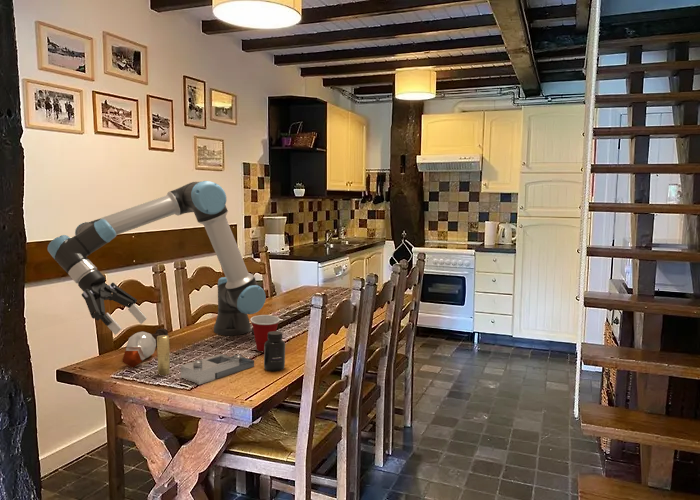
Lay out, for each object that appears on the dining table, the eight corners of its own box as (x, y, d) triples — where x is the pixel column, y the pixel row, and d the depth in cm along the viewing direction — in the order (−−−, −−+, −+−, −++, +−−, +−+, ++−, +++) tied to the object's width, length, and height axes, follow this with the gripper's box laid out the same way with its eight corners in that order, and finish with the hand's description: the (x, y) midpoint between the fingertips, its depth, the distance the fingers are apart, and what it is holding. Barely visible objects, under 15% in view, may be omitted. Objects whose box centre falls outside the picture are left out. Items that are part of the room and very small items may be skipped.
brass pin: (165, 370, 163) (164, 334, 162) (172, 373, 161) (171, 336, 160) (155, 373, 160) (154, 336, 159) (162, 376, 158) (161, 338, 157)
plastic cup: (255, 356, 180) (255, 322, 179) (246, 347, 190) (246, 316, 188) (284, 352, 185) (284, 320, 184) (274, 344, 195) (274, 313, 193)
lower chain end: (236, 360, 174) (236, 350, 174) (254, 366, 169) (254, 356, 169) (198, 372, 162) (198, 361, 162) (216, 379, 157) (216, 368, 156)
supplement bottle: (275, 373, 163) (275, 336, 162) (259, 369, 166) (259, 333, 165) (289, 367, 169) (289, 332, 167) (273, 363, 172) (273, 329, 171)
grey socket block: (221, 365, 169) (220, 349, 169) (239, 371, 164) (239, 354, 163) (180, 378, 157) (180, 360, 156) (198, 384, 152) (198, 367, 151)
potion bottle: (150, 357, 181) (137, 376, 166) (126, 342, 179) (110, 361, 164) (164, 337, 180) (153, 355, 165) (140, 322, 178) (126, 339, 163)
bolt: (166, 341, 203) (155, 351, 188) (154, 335, 202) (143, 344, 187) (173, 328, 203) (163, 337, 188) (162, 322, 202) (151, 331, 187)
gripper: (105, 278, 175) (146, 324, 174) (51, 291, 150) (98, 344, 149) (119, 264, 173) (160, 310, 172) (66, 274, 149) (114, 328, 148)
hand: (131, 326), depth 161 cm, fingers open, 13 cm apart
